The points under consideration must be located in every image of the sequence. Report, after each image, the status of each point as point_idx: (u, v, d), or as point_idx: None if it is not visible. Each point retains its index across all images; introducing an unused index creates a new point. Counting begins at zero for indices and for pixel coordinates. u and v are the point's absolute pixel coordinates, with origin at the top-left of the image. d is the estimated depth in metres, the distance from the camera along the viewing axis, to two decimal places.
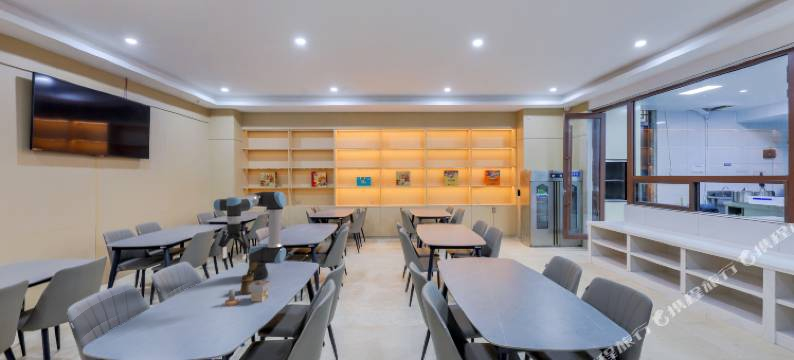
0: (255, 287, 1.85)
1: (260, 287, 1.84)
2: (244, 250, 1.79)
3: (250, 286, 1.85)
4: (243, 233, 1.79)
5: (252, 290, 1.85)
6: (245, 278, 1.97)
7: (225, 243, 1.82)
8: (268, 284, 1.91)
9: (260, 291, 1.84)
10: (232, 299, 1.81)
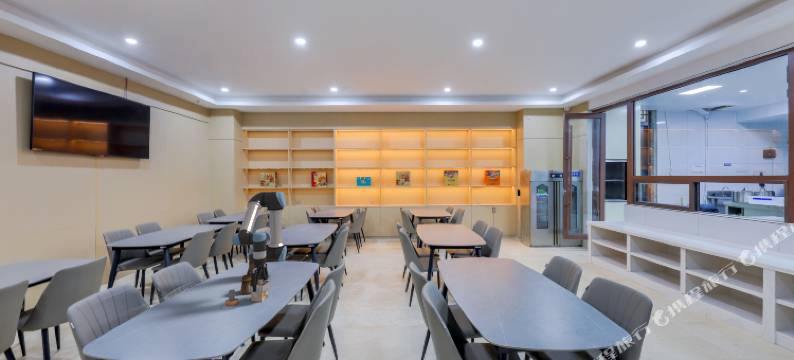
0: None
1: (260, 287, 1.84)
2: None
3: (250, 286, 1.85)
4: (252, 271, 1.82)
5: (252, 290, 1.85)
6: (245, 278, 1.97)
7: (262, 276, 1.93)
8: (268, 284, 1.91)
9: (260, 291, 1.84)
10: (232, 299, 1.81)
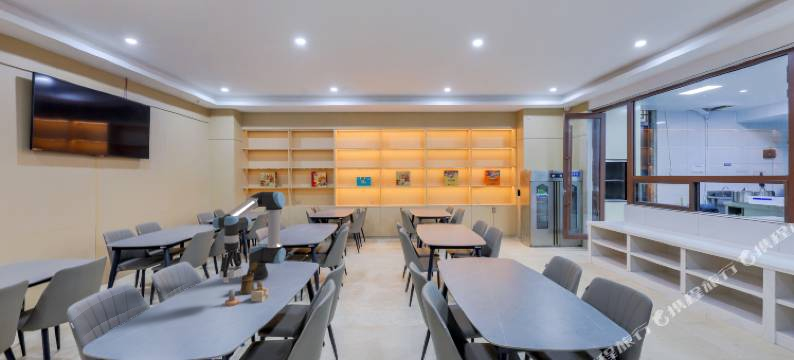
0: None
1: (231, 272, 1.77)
2: None
3: (221, 271, 1.78)
4: (223, 256, 1.75)
5: None
6: (245, 278, 1.97)
7: (234, 262, 1.86)
8: (240, 270, 1.84)
9: (231, 276, 1.77)
10: (232, 299, 1.81)
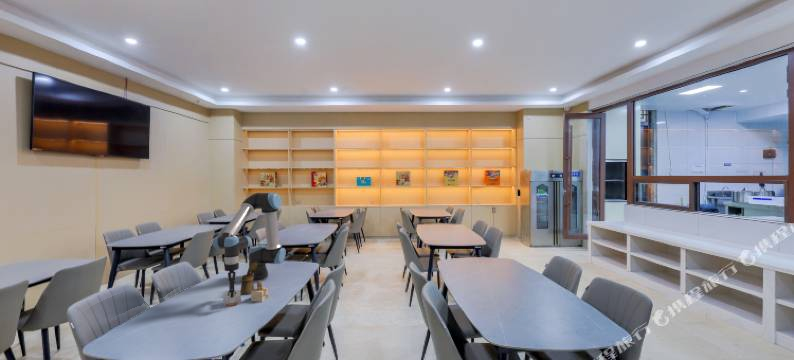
0: None
1: (238, 296, 1.80)
2: (230, 293, 1.75)
3: (225, 298, 1.77)
4: (231, 276, 1.76)
5: (228, 301, 1.78)
6: (245, 278, 1.97)
7: (230, 281, 1.87)
8: None
9: (238, 300, 1.80)
10: None
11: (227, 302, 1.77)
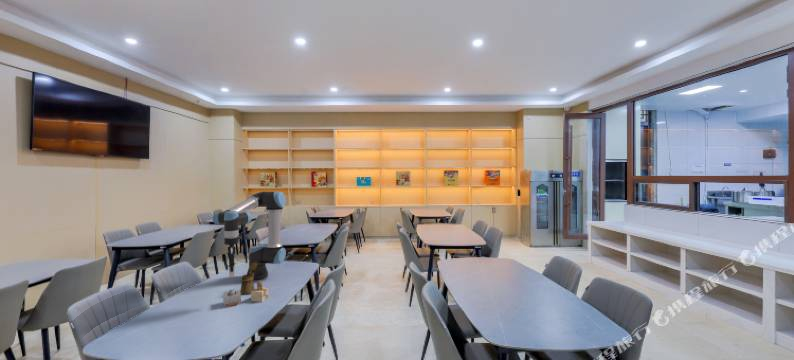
0: (231, 298, 1.78)
1: (238, 296, 1.80)
2: (230, 268, 1.80)
3: (225, 298, 1.77)
4: (231, 253, 1.77)
5: (228, 301, 1.78)
6: (245, 278, 1.97)
7: None
8: None
9: (238, 300, 1.80)
10: None
11: (227, 302, 1.77)
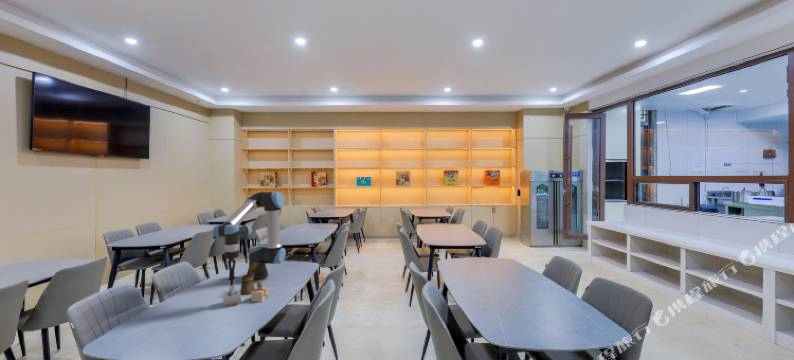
0: (231, 298, 1.78)
1: (238, 296, 1.80)
2: None
3: (225, 298, 1.77)
4: (231, 267, 1.77)
5: (228, 301, 1.78)
6: (245, 278, 1.97)
7: None
8: None
9: (238, 300, 1.80)
10: None
11: (227, 302, 1.77)
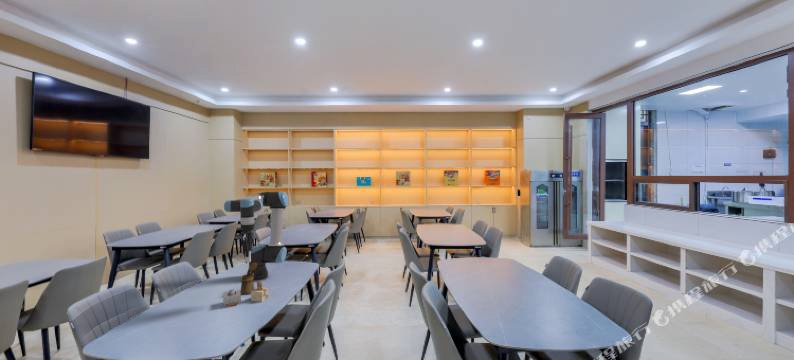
0: (231, 298, 1.78)
1: (238, 296, 1.80)
2: (245, 253, 1.87)
3: (225, 298, 1.77)
4: (243, 239, 1.82)
5: (228, 301, 1.78)
6: (245, 278, 1.97)
7: None
8: None
9: (238, 300, 1.80)
10: None
11: (227, 302, 1.77)
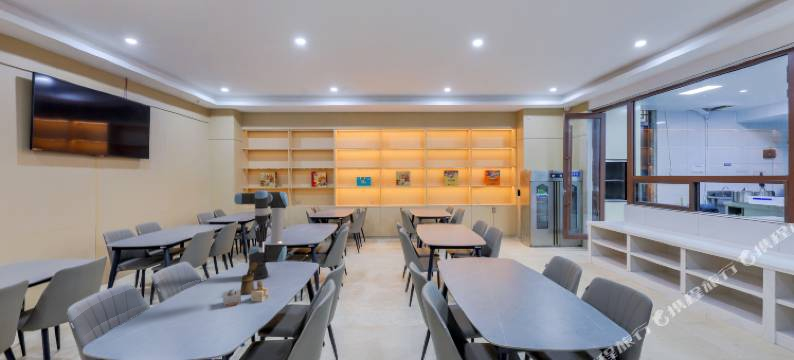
0: (231, 298, 1.78)
1: (238, 296, 1.80)
2: None
3: (225, 298, 1.77)
4: (255, 229, 1.87)
5: (228, 301, 1.78)
6: (245, 278, 1.97)
7: None
8: None
9: (238, 300, 1.80)
10: None
11: (227, 302, 1.77)
